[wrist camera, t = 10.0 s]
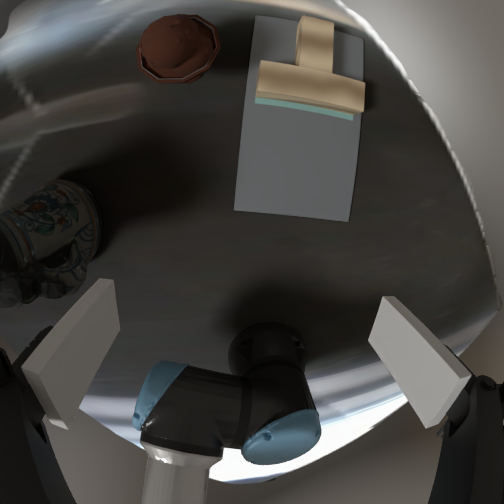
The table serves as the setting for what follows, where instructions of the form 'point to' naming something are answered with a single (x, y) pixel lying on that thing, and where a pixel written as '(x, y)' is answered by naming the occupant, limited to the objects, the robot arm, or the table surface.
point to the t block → (311, 73)
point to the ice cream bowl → (177, 48)
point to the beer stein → (48, 243)
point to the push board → (297, 136)
